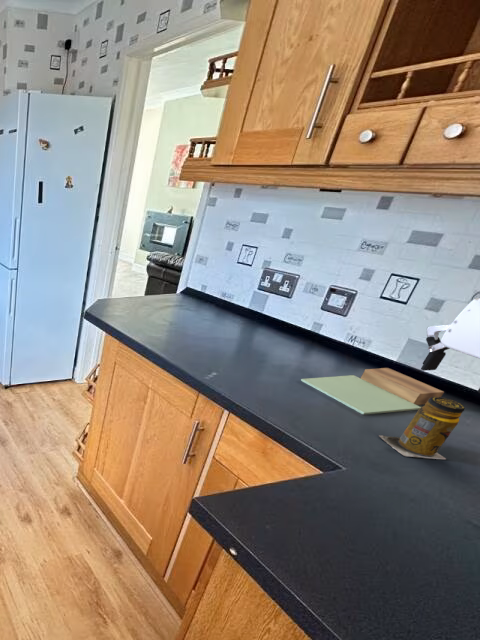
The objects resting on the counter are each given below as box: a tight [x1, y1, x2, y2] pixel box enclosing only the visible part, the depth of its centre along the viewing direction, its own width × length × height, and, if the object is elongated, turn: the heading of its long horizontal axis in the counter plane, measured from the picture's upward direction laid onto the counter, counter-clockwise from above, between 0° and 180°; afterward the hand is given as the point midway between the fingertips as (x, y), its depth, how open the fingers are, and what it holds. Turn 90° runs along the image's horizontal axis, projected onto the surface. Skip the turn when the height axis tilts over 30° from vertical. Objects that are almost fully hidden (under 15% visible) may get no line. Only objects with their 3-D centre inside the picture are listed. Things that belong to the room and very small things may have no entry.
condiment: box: [378, 396, 466, 460], centre depth 88 cm, size 7×8×12 cm
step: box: [359, 367, 445, 406], centre depth 113 cm, size 8×14×4 cm, turn 10°
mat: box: [300, 374, 422, 416], centre depth 112 cm, size 18×18×1 cm
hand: (454, 380), depth 83 cm, fingers open, 9 cm apart
